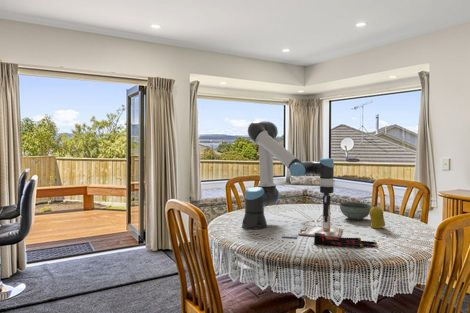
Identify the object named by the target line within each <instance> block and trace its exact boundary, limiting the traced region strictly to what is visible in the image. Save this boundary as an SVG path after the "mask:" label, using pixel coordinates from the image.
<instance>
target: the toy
mask: <svg viewBox="0 0 470 313" xmlns="http://www.w3.org/2000/svg"><path fill="white" fill-rule="evenodd" d="M313 243H314V244H313V245H314V246H325V245H334V246H338V247H339V246H340V247H350V248H361V249H363V248H364V247H365V248H373V247H378V244H377V241H373V240H372V241H370V240H361V237H340V238H339V237H329V236H325V234H322V233H315V237H313Z"/></svg>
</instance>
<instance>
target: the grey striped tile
mask: <svg viewBox="0 0 470 313" xmlns="http://www.w3.org/2000/svg"><path fill="white" fill-rule="evenodd" d="M281 239H298V234H297V233H296V234H295V233H282V234H281Z"/></svg>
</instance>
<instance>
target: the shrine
mask: <svg viewBox="0 0 470 313" xmlns="http://www.w3.org/2000/svg"><path fill="white" fill-rule="evenodd" d="M368 216H370V217H369V218H370V227H371V229H377V230H378V229H381V228H382V229H383V228H384V227H385V226H386V221H385V217H384V210H383V209H382V208H381V207H380V206H378V205H377V204H374V205H372V208H371V209H370V213H369V215H368Z"/></svg>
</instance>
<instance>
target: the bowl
mask: <svg viewBox="0 0 470 313" xmlns="http://www.w3.org/2000/svg"><path fill="white" fill-rule="evenodd" d="M338 206H339V209H340V211H341V214H343V215H344V216H345V217H346V218H347V219H348V220H350V221H357V222H359V221H362V220H363V219H364V218H366V217H369V216H370V215H369V213H370V209H371V208H372V207H373V205H371V204H370V203H366V202H361V201H342V202H339V203H338Z"/></svg>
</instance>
